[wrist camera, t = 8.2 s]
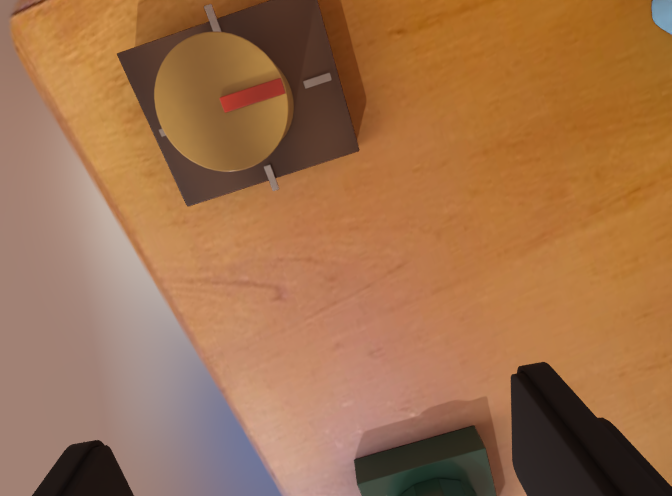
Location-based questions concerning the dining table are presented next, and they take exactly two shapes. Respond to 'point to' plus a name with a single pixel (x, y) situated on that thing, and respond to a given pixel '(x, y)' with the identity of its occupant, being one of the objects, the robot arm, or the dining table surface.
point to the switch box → (429, 468)
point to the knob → (222, 101)
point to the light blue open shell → (662, 14)
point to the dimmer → (301, 73)
